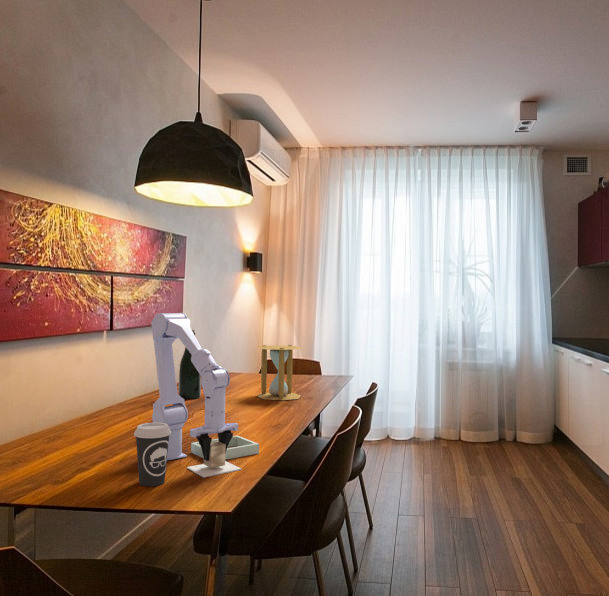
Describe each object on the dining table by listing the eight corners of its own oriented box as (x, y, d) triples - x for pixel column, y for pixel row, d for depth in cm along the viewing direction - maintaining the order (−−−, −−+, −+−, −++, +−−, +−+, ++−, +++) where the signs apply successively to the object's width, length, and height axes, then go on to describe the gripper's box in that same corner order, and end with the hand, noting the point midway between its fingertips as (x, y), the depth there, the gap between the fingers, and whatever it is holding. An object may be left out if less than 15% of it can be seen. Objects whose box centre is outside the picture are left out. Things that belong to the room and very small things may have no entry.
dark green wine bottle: (177, 396, 278) (178, 328, 278) (199, 395, 282) (200, 328, 281) (179, 400, 268) (180, 330, 268) (201, 399, 271) (202, 330, 271)
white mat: (203, 477, 155) (203, 476, 155) (187, 468, 163) (187, 467, 163) (241, 469, 162) (241, 468, 162) (223, 461, 170) (223, 460, 170)
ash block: (211, 468, 160) (211, 446, 160) (203, 464, 163) (203, 443, 163) (225, 465, 162) (225, 444, 162) (217, 461, 166) (217, 441, 166)
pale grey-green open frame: (210, 462, 169) (211, 452, 169) (191, 452, 180) (191, 442, 180) (258, 453, 180) (259, 443, 180) (237, 444, 190) (237, 435, 190)
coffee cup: (173, 476, 155) (174, 422, 155) (166, 488, 146) (167, 430, 146) (138, 476, 155) (139, 421, 155) (128, 488, 145) (129, 429, 145)
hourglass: (254, 393, 291) (254, 344, 291) (297, 392, 295) (298, 344, 295) (258, 401, 268) (259, 348, 268) (305, 400, 272) (306, 348, 272)
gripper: (198, 416, 155) (197, 466, 155) (244, 410, 164) (243, 457, 164) (186, 412, 161) (186, 460, 161) (231, 406, 170) (230, 452, 170)
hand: (214, 458), depth 163 cm, fingers closed on ash block, 4 cm apart
